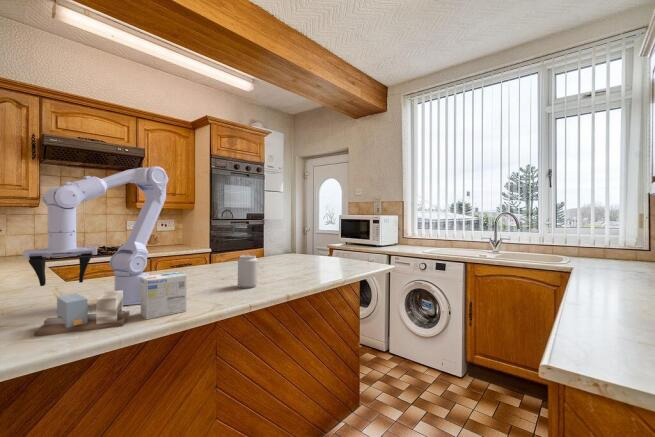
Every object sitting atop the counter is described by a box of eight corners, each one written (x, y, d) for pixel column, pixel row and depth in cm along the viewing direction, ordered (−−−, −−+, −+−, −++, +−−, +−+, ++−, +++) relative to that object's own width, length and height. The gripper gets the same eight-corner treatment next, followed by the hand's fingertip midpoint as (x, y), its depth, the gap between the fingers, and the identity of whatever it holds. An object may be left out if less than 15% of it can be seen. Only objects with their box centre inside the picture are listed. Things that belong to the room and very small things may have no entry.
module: (77, 316, 80) (76, 293, 80) (88, 323, 75) (88, 299, 75) (57, 320, 77) (57, 296, 77) (67, 328, 72) (67, 303, 71)
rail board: (129, 314, 85) (129, 289, 85) (122, 325, 76) (122, 298, 76) (51, 322, 78) (51, 295, 78) (34, 335, 70) (34, 305, 69)
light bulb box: (179, 306, 93) (179, 270, 93) (187, 311, 88) (187, 274, 88) (139, 314, 85) (139, 275, 85) (145, 320, 81) (145, 279, 80)
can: (234, 288, 116) (234, 256, 115) (242, 283, 123) (243, 253, 123) (252, 289, 114) (253, 257, 114) (260, 284, 122) (260, 254, 121)
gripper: (97, 230, 88) (97, 277, 88) (28, 231, 79) (28, 283, 80) (96, 232, 82) (96, 282, 82) (20, 233, 74) (21, 289, 74)
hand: (62, 283), depth 81 cm, fingers open, 7 cm apart
